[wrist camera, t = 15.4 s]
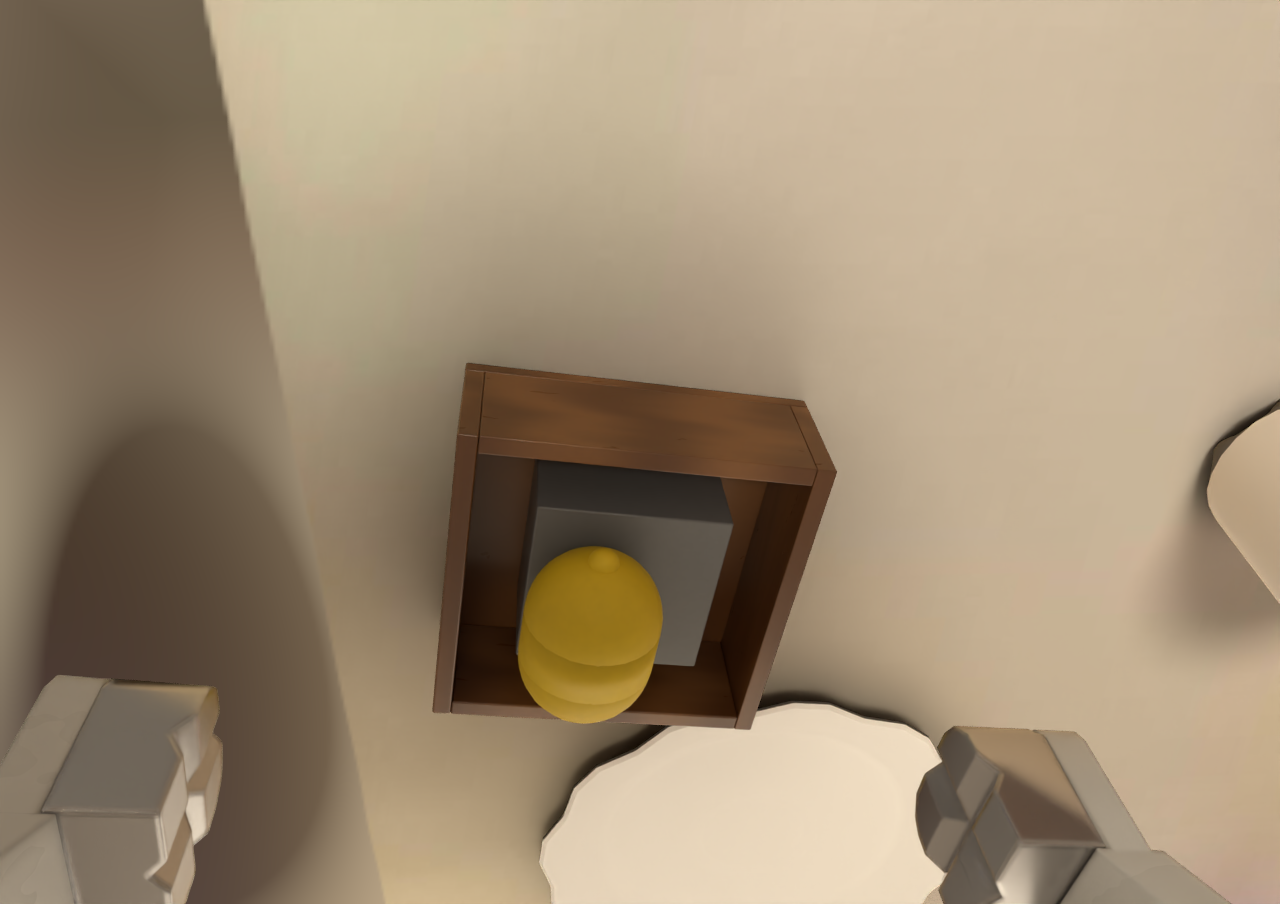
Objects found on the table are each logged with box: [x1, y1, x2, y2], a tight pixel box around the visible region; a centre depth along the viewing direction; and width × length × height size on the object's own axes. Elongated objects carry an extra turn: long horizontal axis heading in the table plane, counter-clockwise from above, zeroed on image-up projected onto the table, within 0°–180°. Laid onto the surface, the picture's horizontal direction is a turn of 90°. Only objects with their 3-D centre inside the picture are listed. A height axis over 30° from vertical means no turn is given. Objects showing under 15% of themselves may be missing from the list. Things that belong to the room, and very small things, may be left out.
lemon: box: [518, 546, 663, 723], centre depth 39 cm, size 8×5×5 cm
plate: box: [539, 701, 944, 904], centre depth 58 cm, size 25×25×2 cm
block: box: [516, 459, 733, 666], centre depth 43 cm, size 8×8×4 cm
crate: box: [432, 363, 837, 730], centre depth 43 cm, size 15×15×6 cm
